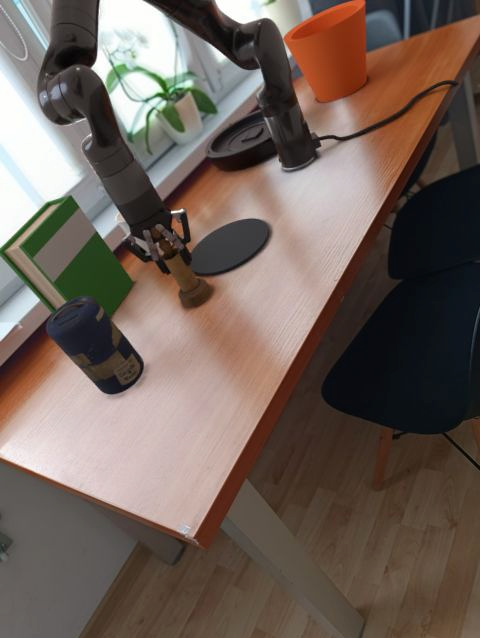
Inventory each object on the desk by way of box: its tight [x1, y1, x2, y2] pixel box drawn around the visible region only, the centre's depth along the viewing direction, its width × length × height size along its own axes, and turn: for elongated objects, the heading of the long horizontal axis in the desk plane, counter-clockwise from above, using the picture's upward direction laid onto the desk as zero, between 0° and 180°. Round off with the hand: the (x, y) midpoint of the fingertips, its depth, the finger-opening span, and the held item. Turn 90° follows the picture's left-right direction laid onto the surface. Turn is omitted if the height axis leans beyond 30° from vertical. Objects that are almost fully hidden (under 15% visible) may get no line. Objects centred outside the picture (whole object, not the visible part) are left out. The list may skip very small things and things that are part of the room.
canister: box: [45, 296, 145, 396], centre depth 84 cm, size 10×10×18 cm
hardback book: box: [0, 194, 135, 318], centre depth 105 cm, size 18×7×24 cm, turn 161°
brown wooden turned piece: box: [150, 227, 212, 308], centre depth 94 cm, size 7×6×18 cm
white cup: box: [114, 211, 174, 255], centre depth 120 cm, size 10×10×12 cm
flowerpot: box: [282, 0, 368, 103], centre depth 148 cm, size 25×25×20 cm
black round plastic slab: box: [204, 109, 278, 172], centre depth 146 cm, size 30×6×30 cm
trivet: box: [189, 217, 271, 277], centre depth 109 cm, size 20×20×1 cm
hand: (179, 267), depth 95 cm, fingers closed on brown wooden turned piece, 4 cm apart
